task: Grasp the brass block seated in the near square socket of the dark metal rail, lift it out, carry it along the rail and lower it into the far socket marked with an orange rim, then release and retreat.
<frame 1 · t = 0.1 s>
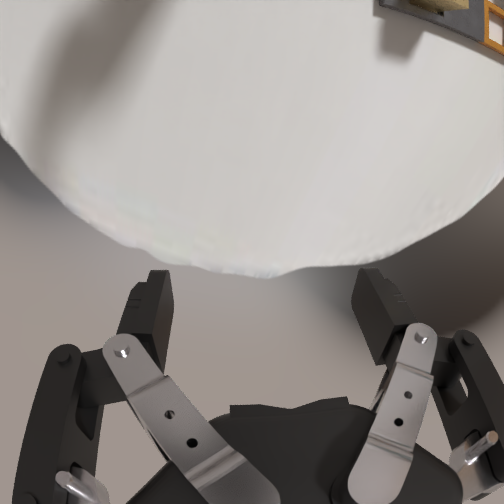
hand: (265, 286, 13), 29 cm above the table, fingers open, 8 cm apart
rail: (461, 11, 27), on the table
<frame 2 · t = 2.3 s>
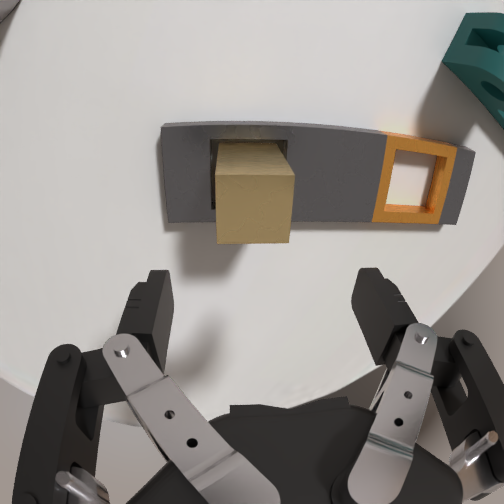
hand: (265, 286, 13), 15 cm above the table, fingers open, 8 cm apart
rail: (335, 171, 26), on the table
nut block: (246, 168, 25), resting in rail
bracket: (503, 93, 22), on the table
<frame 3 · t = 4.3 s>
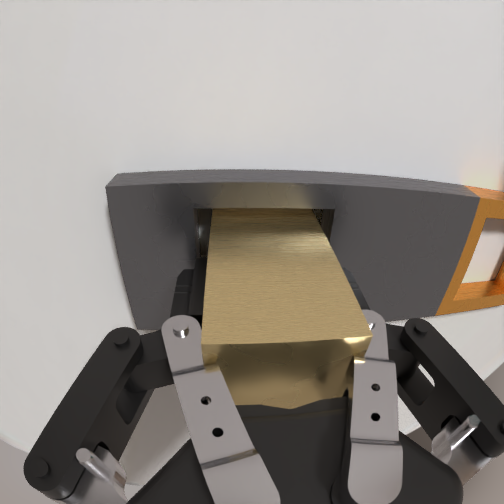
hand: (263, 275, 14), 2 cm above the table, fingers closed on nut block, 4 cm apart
rail: (396, 247, 16), on the table
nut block: (260, 248, 16), resting in rail, touching gripper
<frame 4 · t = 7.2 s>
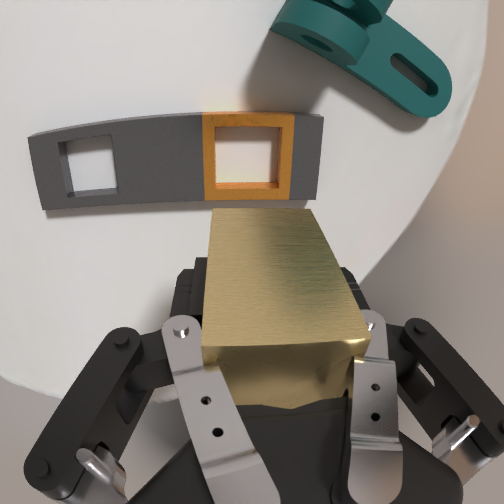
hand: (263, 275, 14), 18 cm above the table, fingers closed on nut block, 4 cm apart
rail: (166, 156, 28), on the table
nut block: (260, 250, 16), point 16 cm above the table, touching gripper
bracket: (370, 49, 24), on the table
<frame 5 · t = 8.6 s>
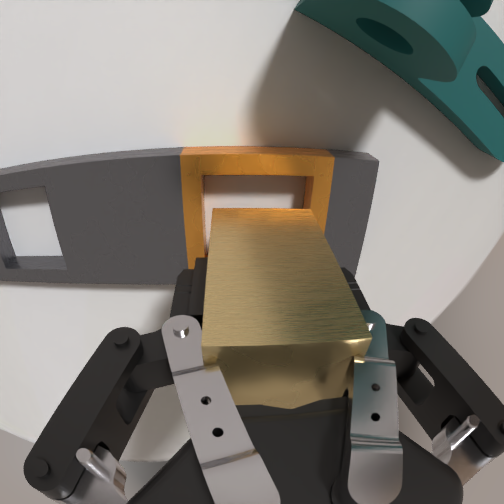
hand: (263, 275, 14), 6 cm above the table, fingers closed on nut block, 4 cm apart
rail: (129, 215, 18), on the table
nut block: (260, 250, 16), point 4 cm above the table, touching gripper
bracket: (442, 55, 14), on the table
when the fingers open (3 cm above the table, at t = 10.0 s): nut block stays where it is, resting in rail.
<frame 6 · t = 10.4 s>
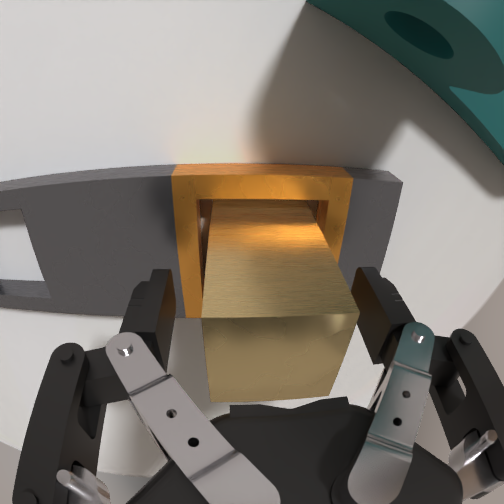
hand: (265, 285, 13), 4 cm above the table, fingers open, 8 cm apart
rail: (117, 240, 16), on the table
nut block: (257, 239, 17), resting in rail
bracket: (469, 60, 12), on the table
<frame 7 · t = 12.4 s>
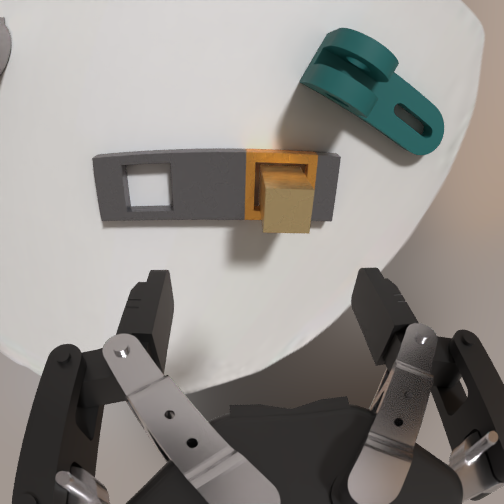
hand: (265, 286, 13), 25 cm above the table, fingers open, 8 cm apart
rail: (213, 182, 36), on the table
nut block: (278, 183, 36), resting in rail
bracket: (378, 98, 32), on the table
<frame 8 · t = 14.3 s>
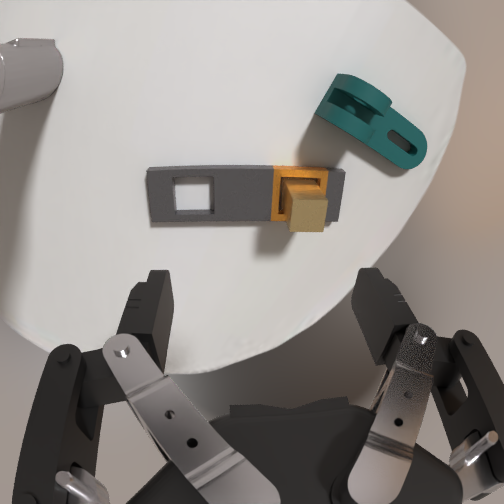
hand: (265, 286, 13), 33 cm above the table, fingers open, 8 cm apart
rail: (246, 191, 46), on the table
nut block: (296, 192, 47), resting in rail
bracket: (375, 124, 42), on the table
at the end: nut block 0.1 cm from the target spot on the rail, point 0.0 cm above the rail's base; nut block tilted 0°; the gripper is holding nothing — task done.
